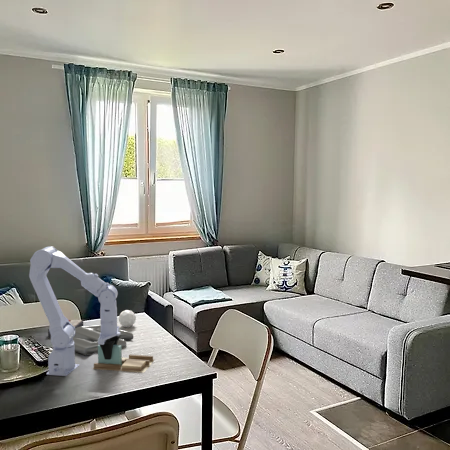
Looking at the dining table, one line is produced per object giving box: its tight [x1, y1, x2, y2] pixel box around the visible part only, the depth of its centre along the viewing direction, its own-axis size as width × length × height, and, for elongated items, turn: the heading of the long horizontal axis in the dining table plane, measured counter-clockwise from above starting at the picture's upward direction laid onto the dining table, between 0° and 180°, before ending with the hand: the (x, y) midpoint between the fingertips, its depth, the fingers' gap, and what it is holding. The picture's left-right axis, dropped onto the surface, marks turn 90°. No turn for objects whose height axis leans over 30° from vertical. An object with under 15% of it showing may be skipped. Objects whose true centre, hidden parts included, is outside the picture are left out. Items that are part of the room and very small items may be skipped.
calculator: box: [47, 319, 84, 338], centre depth 208 cm, size 11×4×15 cm
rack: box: [92, 354, 155, 374], centre depth 169 cm, size 12×19×2 cm, turn 81°
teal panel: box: [97, 345, 123, 366], centre depth 167 cm, size 2×8×8 cm, turn 81°
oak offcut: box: [122, 360, 146, 369], centre depth 165 cm, size 5×7×1 cm
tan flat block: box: [122, 364, 146, 371], centre depth 165 cm, size 5×7×1 cm
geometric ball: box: [118, 309, 137, 328], centre depth 215 cm, size 8×8×8 cm
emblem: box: [73, 324, 134, 356], centre depth 192 cm, size 28×5×28 cm
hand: (109, 357), depth 167 cm, fingers open, 2 cm apart
